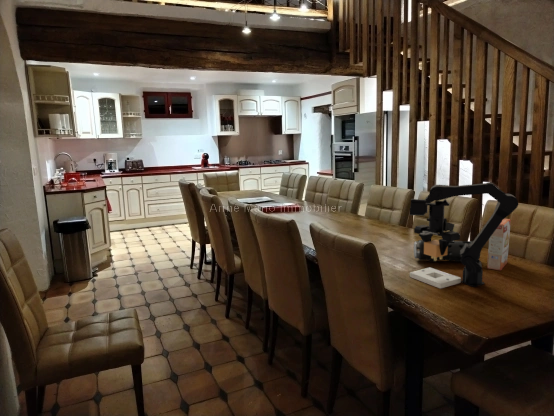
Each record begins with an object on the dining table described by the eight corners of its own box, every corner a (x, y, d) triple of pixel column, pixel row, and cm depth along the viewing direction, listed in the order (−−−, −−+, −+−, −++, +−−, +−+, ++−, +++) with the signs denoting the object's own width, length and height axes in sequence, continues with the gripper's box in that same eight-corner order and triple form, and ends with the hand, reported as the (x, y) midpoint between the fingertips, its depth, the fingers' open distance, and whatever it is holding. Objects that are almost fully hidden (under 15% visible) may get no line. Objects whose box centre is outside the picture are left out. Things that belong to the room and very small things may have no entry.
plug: (447, 259, 159) (447, 243, 158) (436, 262, 157) (436, 245, 155) (434, 255, 165) (435, 239, 164) (423, 258, 162) (424, 242, 161)
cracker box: (502, 271, 169) (504, 224, 165) (486, 268, 173) (489, 223, 169) (508, 262, 179) (511, 218, 176) (494, 260, 183) (496, 217, 179)
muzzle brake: (480, 265, 178) (481, 243, 176) (416, 264, 183) (416, 242, 181) (473, 259, 187) (474, 238, 185) (413, 258, 192) (413, 237, 191)
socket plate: (461, 282, 158) (461, 277, 157) (440, 288, 153) (440, 283, 152) (429, 271, 172) (429, 266, 172) (409, 276, 167) (409, 271, 166)
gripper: (470, 217, 153) (468, 255, 156) (432, 210, 169) (431, 244, 172) (450, 220, 148) (449, 259, 151) (413, 213, 165) (412, 249, 167)
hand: (435, 252), depth 160 cm, fingers closed on plug, 6 cm apart
